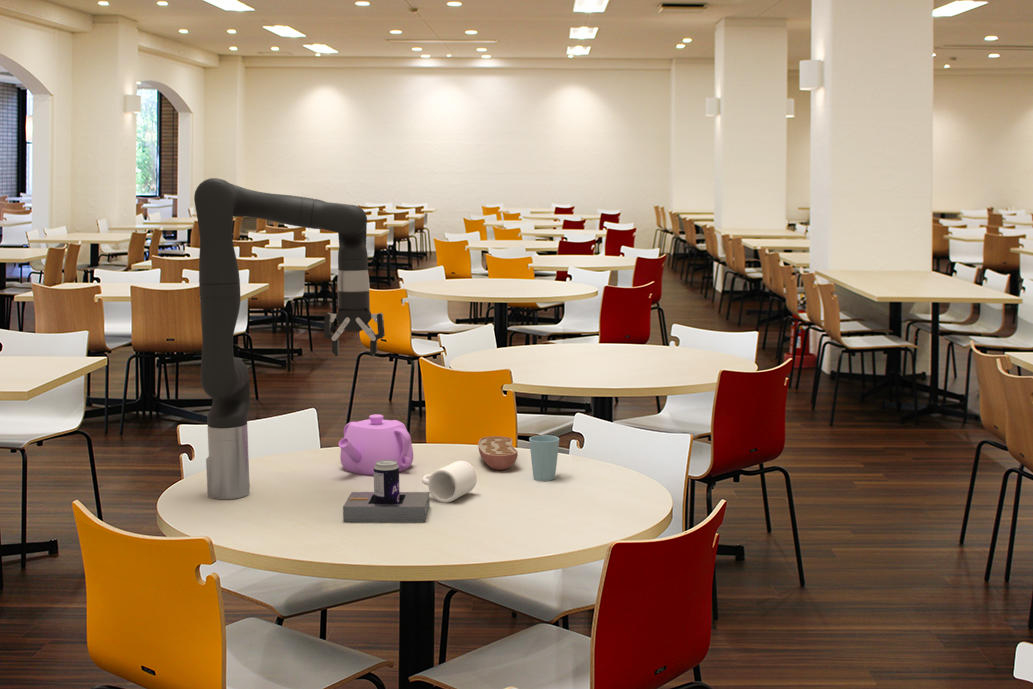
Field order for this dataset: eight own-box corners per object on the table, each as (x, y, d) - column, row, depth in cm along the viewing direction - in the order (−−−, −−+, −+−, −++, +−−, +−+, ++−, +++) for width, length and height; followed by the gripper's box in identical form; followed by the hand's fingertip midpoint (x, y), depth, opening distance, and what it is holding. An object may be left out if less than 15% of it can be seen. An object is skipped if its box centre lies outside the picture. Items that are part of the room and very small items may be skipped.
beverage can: (395, 518, 238) (394, 466, 236) (371, 517, 239) (370, 464, 238) (403, 511, 244) (402, 460, 242) (379, 510, 245) (378, 458, 243)
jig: (343, 522, 235) (342, 505, 235) (351, 506, 247) (351, 491, 247) (424, 522, 235) (424, 505, 235) (429, 506, 247) (429, 491, 247)
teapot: (412, 458, 294) (411, 407, 292) (414, 478, 273) (413, 423, 271) (342, 461, 292) (340, 409, 290) (339, 480, 271) (337, 425, 269)
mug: (477, 494, 258) (477, 462, 257) (457, 504, 249) (457, 471, 248) (433, 488, 263) (433, 457, 262) (413, 499, 254) (412, 466, 253)
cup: (533, 482, 268) (533, 442, 267) (525, 475, 276) (526, 435, 274) (562, 481, 270) (562, 440, 269) (554, 473, 277) (554, 434, 276)
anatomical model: (519, 473, 278) (519, 454, 278) (481, 474, 277) (481, 455, 277) (511, 453, 301) (510, 435, 300) (475, 454, 300) (475, 436, 299)
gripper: (320, 290, 252) (322, 358, 254) (381, 290, 252) (382, 358, 254) (326, 287, 259) (328, 353, 262) (385, 287, 259) (386, 353, 261)
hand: (354, 355), depth 258 cm, fingers open, 8 cm apart
